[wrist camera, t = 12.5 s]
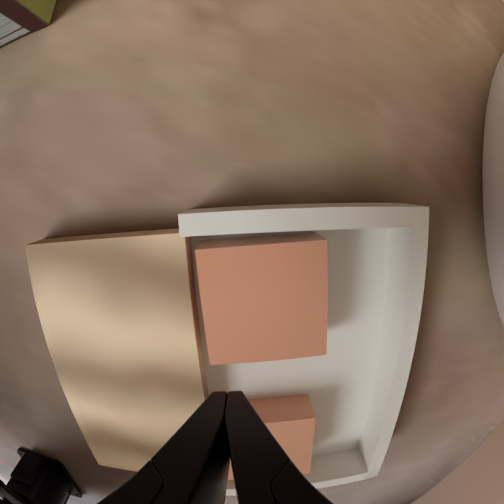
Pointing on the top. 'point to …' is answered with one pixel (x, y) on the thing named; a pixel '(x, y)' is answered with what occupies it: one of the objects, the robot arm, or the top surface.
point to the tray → (337, 324)
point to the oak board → (122, 336)
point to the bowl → (495, 185)
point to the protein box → (23, 18)
